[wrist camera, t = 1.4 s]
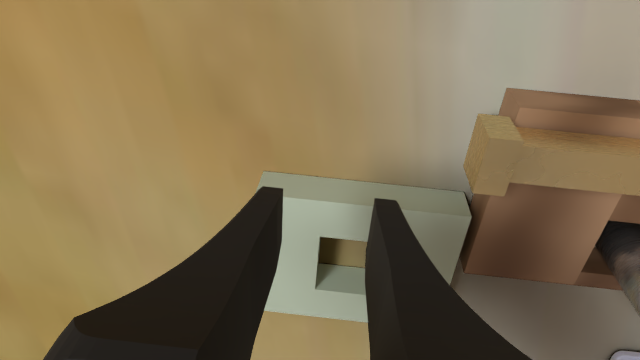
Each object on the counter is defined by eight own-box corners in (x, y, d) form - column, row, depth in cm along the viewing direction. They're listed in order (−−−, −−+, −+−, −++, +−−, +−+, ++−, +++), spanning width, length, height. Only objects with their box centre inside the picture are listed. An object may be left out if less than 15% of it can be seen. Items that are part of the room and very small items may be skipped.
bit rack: (463, 191, 22) (471, 216, 21) (431, 302, 27) (435, 330, 25) (263, 171, 23) (255, 193, 21) (263, 283, 27) (257, 309, 26)
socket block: (747, 111, 19) (784, 132, 17) (647, 266, 24) (668, 295, 22) (506, 87, 19) (519, 107, 18) (457, 246, 24) (464, 273, 23)
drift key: (664, 131, 17) (695, 158, 16) (636, 183, 19) (662, 212, 17) (478, 113, 18) (489, 137, 16) (463, 165, 19) (472, 193, 17)
